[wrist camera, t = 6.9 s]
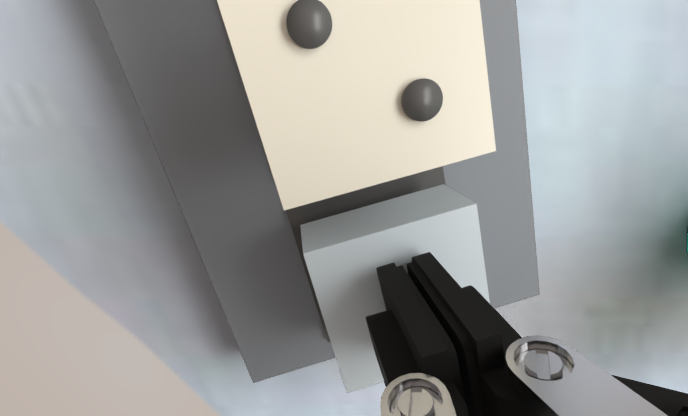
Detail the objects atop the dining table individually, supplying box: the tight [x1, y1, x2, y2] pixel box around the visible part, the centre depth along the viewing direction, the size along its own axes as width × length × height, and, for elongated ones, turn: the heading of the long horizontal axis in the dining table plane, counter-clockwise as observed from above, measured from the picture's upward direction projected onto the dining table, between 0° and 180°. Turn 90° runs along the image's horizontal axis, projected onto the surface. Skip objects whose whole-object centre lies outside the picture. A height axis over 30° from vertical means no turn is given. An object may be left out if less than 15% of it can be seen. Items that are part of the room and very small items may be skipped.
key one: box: [300, 184, 490, 393], centre depth 12 cm, size 5×5×3 cm
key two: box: [217, 0, 496, 210], centre depth 9 cm, size 5×5×2 cm
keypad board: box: [94, 0, 540, 383], centre depth 13 cm, size 22×13×2 cm, turn 14°
